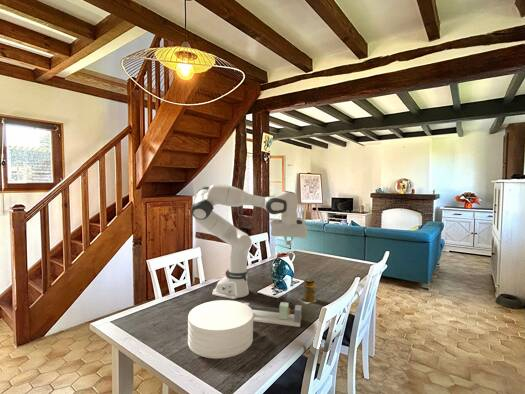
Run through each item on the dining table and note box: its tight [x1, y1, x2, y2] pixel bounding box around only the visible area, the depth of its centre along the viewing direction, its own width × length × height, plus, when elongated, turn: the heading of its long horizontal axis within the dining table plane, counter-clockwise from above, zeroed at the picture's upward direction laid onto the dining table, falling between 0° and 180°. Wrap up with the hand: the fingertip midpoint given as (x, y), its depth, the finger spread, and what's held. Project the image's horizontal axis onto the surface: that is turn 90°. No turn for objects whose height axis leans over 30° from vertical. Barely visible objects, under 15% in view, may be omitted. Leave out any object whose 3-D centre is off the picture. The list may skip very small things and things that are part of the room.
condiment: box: [298, 278, 318, 305], centre depth 166 cm, size 7×8×12 cm
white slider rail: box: [243, 302, 302, 328], centre depth 143 cm, size 30×10×7 cm, turn 78°
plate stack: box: [187, 299, 254, 359], centre depth 124 cm, size 28×28×12 cm
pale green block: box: [278, 301, 290, 319], centre depth 142 cm, size 4×4×6 cm
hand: (288, 244), depth 159 cm, fingers closed
